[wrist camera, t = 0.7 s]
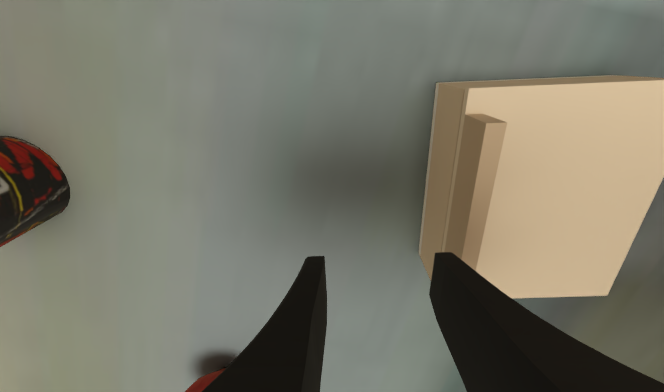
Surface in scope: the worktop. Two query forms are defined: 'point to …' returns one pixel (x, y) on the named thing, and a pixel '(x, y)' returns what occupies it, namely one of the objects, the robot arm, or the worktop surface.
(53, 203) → the deodorant
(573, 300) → the worktop surface
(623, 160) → the lid
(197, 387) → the onion
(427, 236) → the base
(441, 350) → the worktop surface
